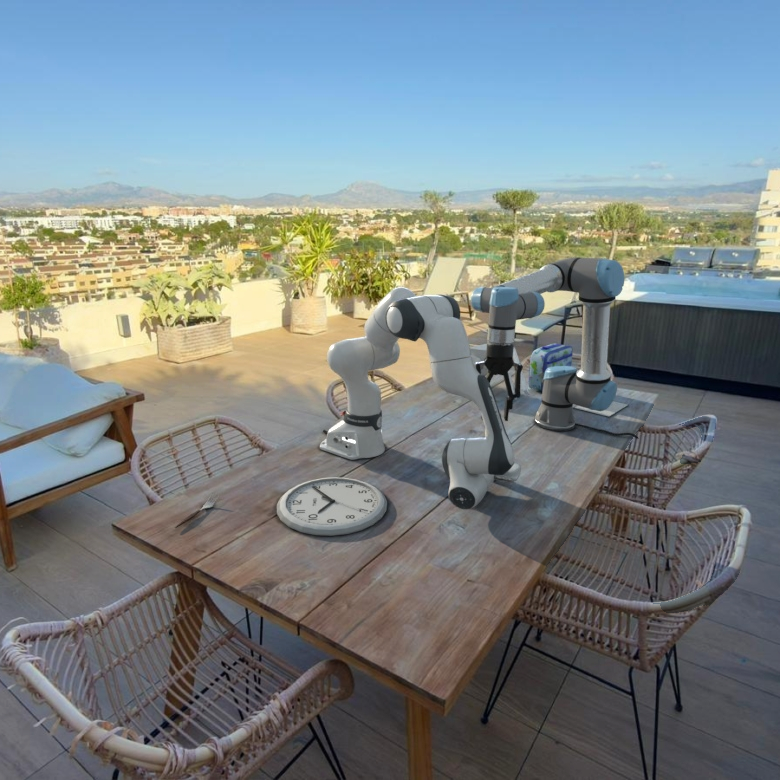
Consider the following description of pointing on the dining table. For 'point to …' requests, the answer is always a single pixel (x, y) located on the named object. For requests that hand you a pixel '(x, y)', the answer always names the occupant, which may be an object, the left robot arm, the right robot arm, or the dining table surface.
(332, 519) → the wall clock
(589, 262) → the right robot arm
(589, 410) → the invitation card
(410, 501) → the dining table surface
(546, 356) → the lunch box
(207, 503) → the fork
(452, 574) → the dining table surface
